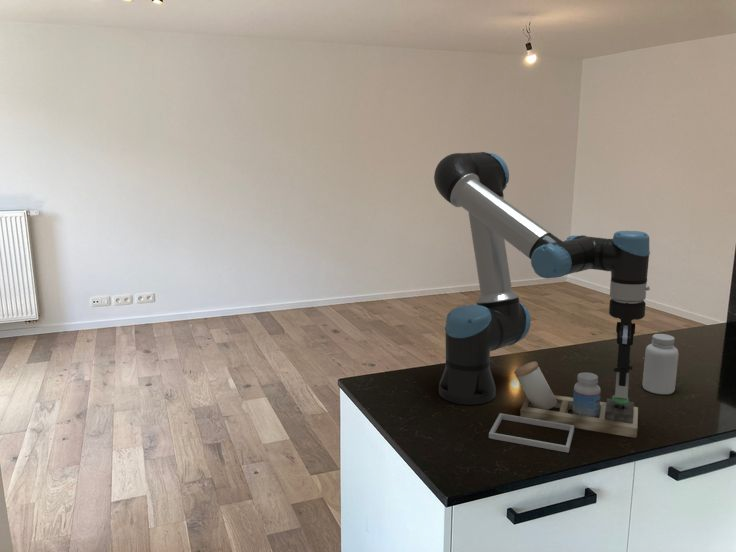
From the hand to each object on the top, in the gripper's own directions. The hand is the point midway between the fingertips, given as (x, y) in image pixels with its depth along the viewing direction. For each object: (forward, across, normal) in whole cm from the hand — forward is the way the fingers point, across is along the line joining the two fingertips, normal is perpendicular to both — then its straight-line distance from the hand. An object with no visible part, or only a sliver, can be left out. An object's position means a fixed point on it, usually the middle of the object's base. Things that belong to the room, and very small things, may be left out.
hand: (621, 396), depth 139 cm
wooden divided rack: (+7, 0, +9) cm, 12 cm away
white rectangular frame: (+7, -13, +18) cm, 23 cm away
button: (+3, 0, 0) cm, 3 cm away
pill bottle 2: (+7, +26, -9) cm, 28 cm away
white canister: (+5, 0, +17) cm, 18 cm away
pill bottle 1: (+7, 0, +8) cm, 10 cm away
